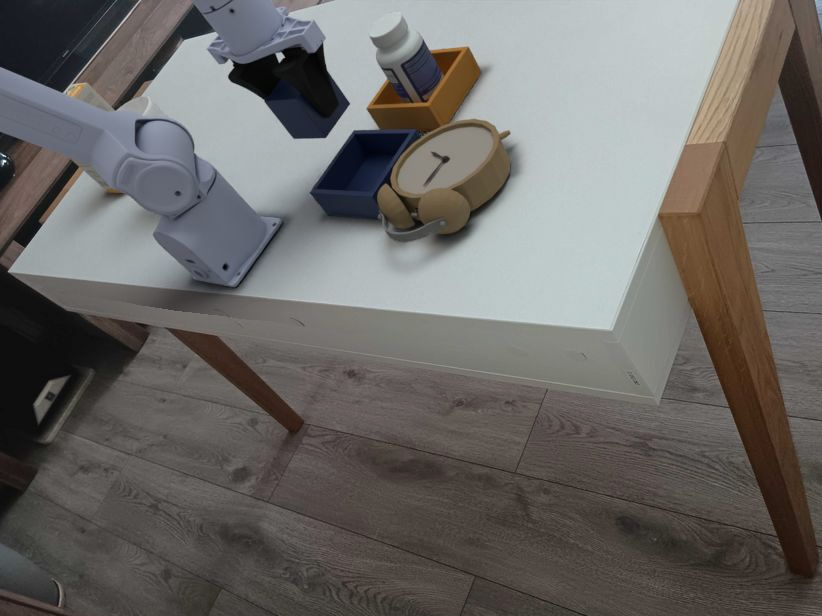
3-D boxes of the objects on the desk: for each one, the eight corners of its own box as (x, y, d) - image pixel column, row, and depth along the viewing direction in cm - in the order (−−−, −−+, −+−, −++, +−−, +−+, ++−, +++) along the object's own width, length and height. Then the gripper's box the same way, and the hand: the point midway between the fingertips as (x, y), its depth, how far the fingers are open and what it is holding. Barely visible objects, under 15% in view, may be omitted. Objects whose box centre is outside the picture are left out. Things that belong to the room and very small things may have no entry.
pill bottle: (453, 76, 84) (411, 0, 77) (448, 106, 81) (403, 29, 74) (411, 92, 86) (366, 18, 79) (404, 122, 83) (357, 48, 76)
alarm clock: (522, 117, 70) (430, 216, 63) (537, 162, 73) (451, 262, 66) (432, 117, 76) (340, 206, 69) (449, 158, 80) (363, 248, 73)
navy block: (325, 138, 75) (296, 99, 72) (293, 139, 78) (263, 101, 75) (350, 103, 77) (323, 63, 73) (318, 105, 80) (290, 67, 76)
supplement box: (141, 153, 113) (70, 82, 103) (158, 153, 110) (87, 80, 100) (107, 194, 109) (31, 125, 100) (124, 195, 107) (47, 124, 97)
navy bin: (389, 220, 75) (371, 196, 72) (327, 215, 80) (308, 192, 78) (432, 153, 78) (416, 128, 76) (370, 153, 84) (353, 129, 81)
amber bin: (443, 131, 80) (428, 106, 77) (381, 132, 85) (365, 108, 83) (481, 72, 83) (468, 46, 80) (419, 76, 88) (405, 52, 86)
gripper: (302, -49, 64) (384, 80, 74) (204, -24, 73) (288, 88, 82) (257, 5, 61) (348, 131, 71) (161, 24, 70) (253, 134, 80)
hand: (314, 111), depth 77 cm, fingers closed on navy block, 5 cm apart
